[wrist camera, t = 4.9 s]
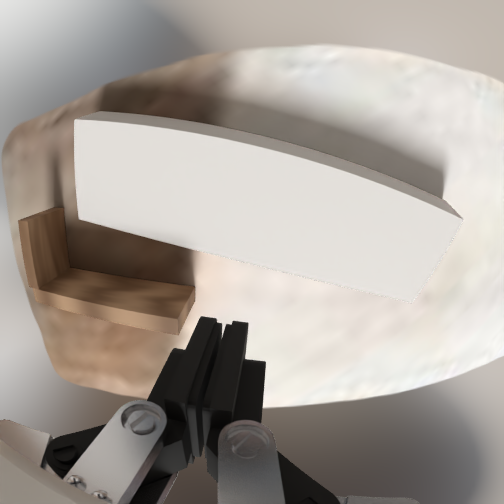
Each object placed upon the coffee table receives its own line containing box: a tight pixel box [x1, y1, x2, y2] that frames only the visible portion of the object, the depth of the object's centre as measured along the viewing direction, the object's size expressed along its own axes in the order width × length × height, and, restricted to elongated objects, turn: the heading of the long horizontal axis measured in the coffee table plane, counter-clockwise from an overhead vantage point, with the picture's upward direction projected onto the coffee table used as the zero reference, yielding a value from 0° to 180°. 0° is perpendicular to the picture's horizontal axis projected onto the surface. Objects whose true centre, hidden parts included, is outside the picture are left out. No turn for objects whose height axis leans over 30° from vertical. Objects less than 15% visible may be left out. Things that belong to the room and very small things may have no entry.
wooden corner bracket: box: [18, 207, 195, 335], centre depth 24 cm, size 17×9×6 cm, turn 85°
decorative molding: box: [74, 111, 464, 303], centre depth 24 cm, size 34×5×10 cm
